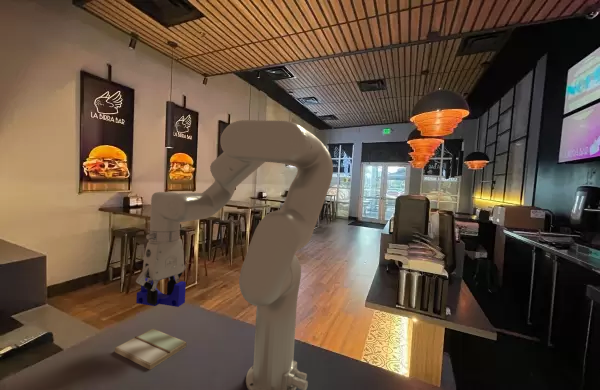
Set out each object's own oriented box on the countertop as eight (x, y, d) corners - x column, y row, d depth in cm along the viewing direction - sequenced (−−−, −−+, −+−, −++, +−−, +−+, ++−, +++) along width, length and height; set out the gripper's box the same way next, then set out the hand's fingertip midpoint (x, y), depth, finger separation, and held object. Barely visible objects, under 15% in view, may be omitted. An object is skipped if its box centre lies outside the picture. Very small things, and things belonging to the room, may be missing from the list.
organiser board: (186, 346, 75) (186, 341, 75) (150, 369, 65) (150, 363, 65) (152, 332, 81) (153, 327, 81) (115, 352, 71) (115, 346, 71)
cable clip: (136, 303, 74) (137, 282, 74) (148, 296, 78) (149, 276, 78) (174, 309, 72) (175, 287, 71) (184, 302, 76) (185, 281, 76)
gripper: (144, 243, 65) (141, 315, 65) (198, 233, 80) (195, 292, 81) (125, 238, 68) (122, 308, 69) (180, 230, 84) (178, 287, 84)
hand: (162, 298), depth 75 cm, fingers closed on cable clip, 5 cm apart
